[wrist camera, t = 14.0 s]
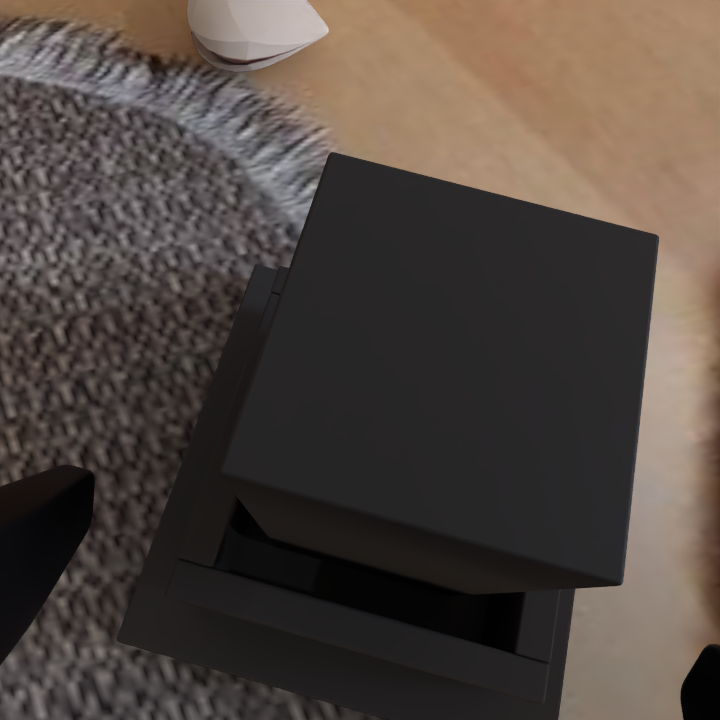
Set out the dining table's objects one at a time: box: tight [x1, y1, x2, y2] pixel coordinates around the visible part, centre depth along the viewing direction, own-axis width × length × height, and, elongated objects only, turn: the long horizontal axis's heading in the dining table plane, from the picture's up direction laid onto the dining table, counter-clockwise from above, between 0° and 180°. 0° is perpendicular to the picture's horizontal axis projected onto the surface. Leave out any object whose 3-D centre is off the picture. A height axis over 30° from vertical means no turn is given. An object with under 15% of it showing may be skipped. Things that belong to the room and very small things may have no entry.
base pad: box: [117, 265, 575, 720], centre depth 17 cm, size 11×11×4 cm
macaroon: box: [187, 0, 329, 72], centre depth 23 cm, size 4×5×2 cm
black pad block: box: [219, 152, 659, 596], centre depth 13 cm, size 5×5×10 cm
